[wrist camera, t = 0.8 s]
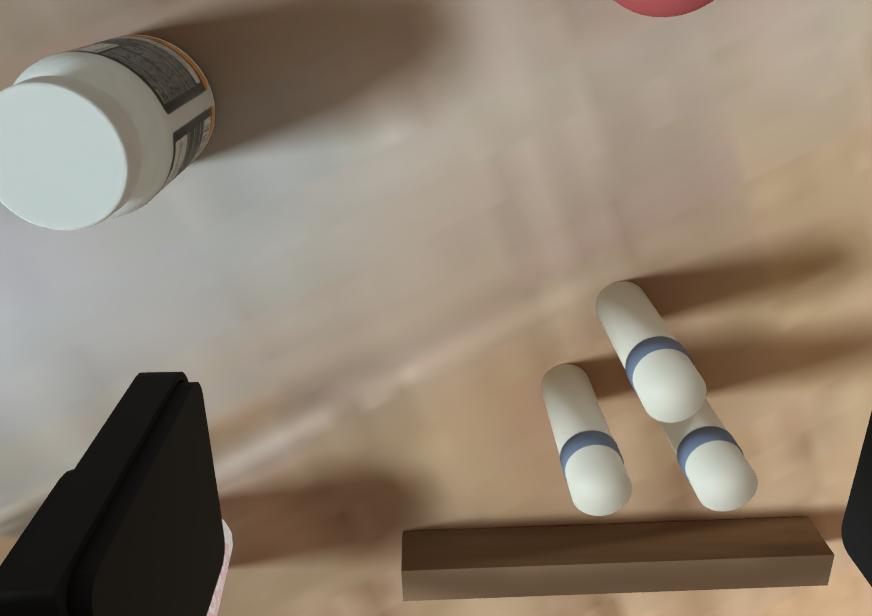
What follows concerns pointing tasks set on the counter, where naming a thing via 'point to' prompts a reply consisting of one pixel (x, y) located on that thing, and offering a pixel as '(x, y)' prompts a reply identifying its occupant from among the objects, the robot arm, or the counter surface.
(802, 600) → the counter surface
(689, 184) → the counter surface
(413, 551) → the back rail
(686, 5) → the ball
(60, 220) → the pill bottle
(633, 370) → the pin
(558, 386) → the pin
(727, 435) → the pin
